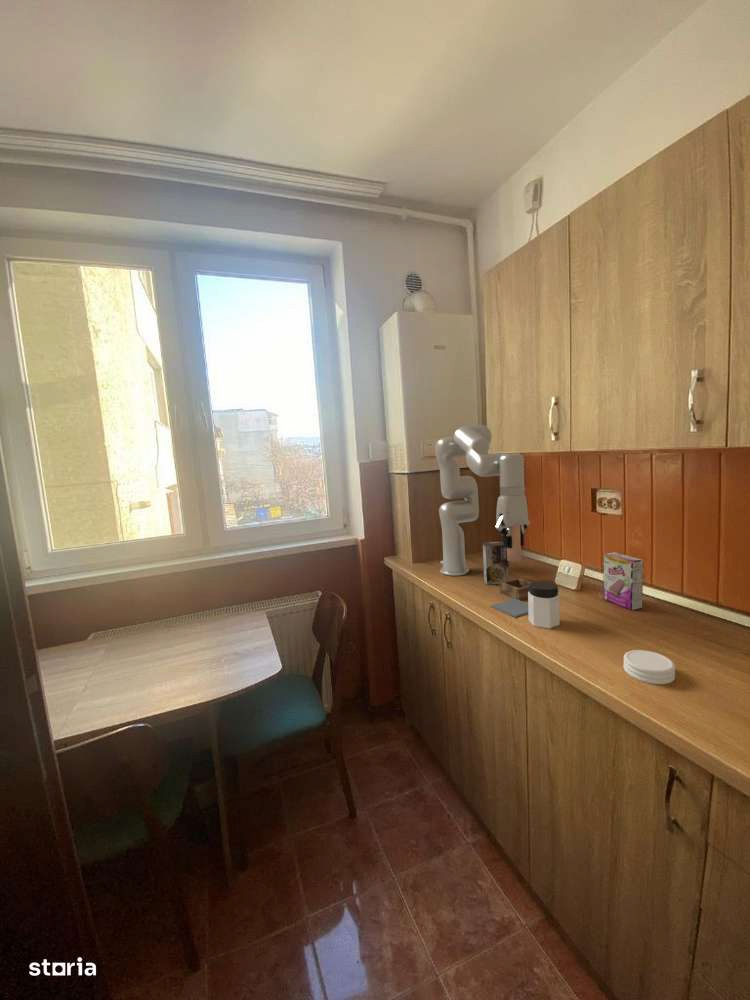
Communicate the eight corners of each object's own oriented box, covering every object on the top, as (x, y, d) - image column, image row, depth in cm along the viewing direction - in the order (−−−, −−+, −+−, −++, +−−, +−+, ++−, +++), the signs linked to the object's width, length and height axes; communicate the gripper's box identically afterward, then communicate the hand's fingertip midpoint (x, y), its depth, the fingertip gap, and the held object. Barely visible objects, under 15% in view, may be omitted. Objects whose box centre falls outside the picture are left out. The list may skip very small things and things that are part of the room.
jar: (563, 628, 119) (563, 589, 118) (535, 629, 120) (535, 590, 118) (551, 616, 128) (551, 579, 127) (525, 617, 129) (525, 581, 127)
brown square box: (499, 592, 151) (499, 582, 151) (518, 587, 155) (518, 577, 155) (518, 600, 143) (518, 589, 142) (538, 595, 147) (537, 584, 146)
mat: (490, 606, 139) (490, 605, 139) (514, 600, 143) (514, 598, 143) (514, 617, 129) (514, 615, 129) (539, 609, 133) (539, 608, 133)
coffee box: (506, 579, 166) (505, 540, 164) (509, 584, 160) (508, 544, 158) (483, 579, 167) (482, 541, 165) (486, 584, 161) (484, 545, 159)
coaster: (644, 688, 89) (644, 673, 89) (614, 664, 99) (614, 651, 99) (686, 683, 90) (686, 668, 90) (652, 660, 100) (652, 647, 99)
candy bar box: (602, 599, 139) (602, 553, 137) (613, 597, 140) (613, 551, 138) (631, 611, 128) (632, 561, 126) (643, 608, 130) (644, 559, 128)
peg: (504, 559, 135) (503, 521, 133) (514, 557, 137) (513, 519, 135) (514, 562, 131) (513, 523, 129) (523, 560, 133) (523, 521, 131)
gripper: (522, 488, 138) (523, 540, 140) (484, 493, 131) (486, 548, 133) (539, 489, 132) (540, 544, 134) (500, 495, 124) (502, 552, 126)
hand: (513, 545), depth 133 cm, fingers closed on peg, 4 cm apart
